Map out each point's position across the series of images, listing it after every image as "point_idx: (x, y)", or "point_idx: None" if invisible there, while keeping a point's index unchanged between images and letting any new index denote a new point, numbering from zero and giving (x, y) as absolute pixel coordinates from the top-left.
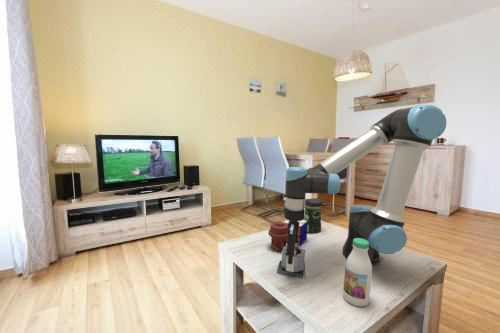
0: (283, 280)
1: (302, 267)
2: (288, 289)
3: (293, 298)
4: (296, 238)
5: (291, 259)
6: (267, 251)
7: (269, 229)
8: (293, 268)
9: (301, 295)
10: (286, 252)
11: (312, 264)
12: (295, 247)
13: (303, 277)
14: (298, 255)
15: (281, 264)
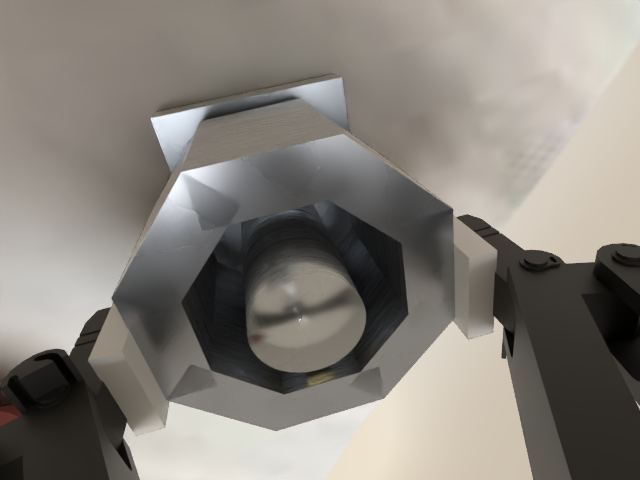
0: None
1: (320, 113)
2: (509, 139)
3: (591, 73)
4: (106, 463)
5: (508, 246)
6: None
7: None
8: None
9: (550, 26)
10: (398, 352)
11: (2, 54)
12: (189, 328)
13: (335, 76)
14: (408, 208)
15: None
